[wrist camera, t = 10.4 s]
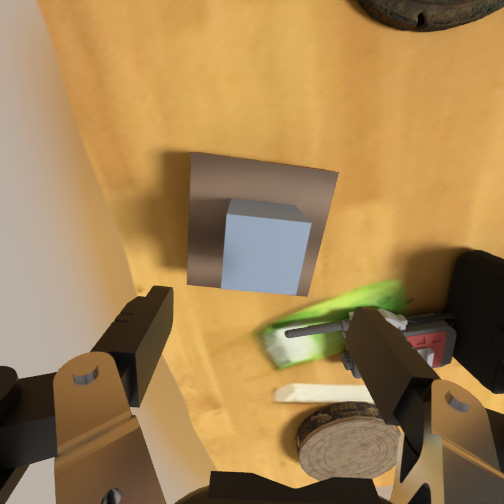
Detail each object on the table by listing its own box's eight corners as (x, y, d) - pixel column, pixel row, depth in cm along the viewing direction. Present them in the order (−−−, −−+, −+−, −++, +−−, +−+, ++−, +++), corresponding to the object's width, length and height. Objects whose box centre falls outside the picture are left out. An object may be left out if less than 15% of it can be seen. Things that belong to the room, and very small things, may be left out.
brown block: (200, 152, 23) (191, 151, 19) (324, 169, 23) (338, 172, 20) (194, 266, 27) (186, 284, 23) (299, 277, 28) (307, 296, 24)
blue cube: (231, 198, 20) (226, 213, 15) (295, 205, 21) (311, 223, 16) (226, 257, 22) (220, 288, 17) (284, 263, 23) (296, 295, 18)
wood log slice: (349, 471, 43) (356, 493, 40) (276, 444, 40) (278, 466, 37) (415, 421, 38) (428, 442, 35) (337, 385, 35) (345, 405, 32)
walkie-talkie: (450, 293, 28) (282, 319, 30) (484, 317, 24) (287, 346, 25) (440, 349, 32) (290, 370, 33) (468, 378, 28) (296, 401, 29)
